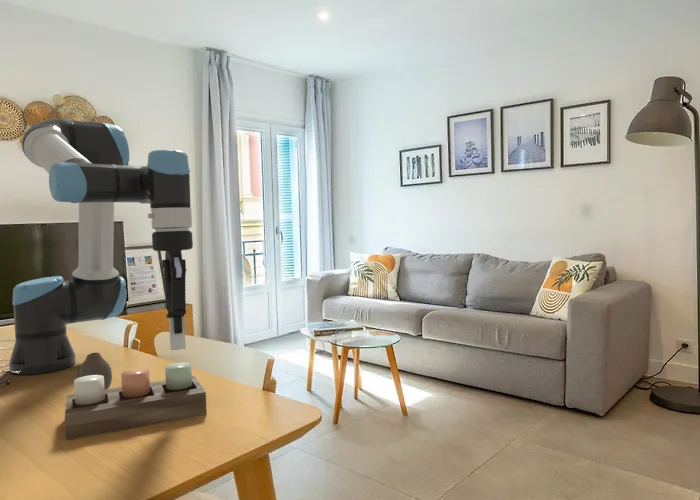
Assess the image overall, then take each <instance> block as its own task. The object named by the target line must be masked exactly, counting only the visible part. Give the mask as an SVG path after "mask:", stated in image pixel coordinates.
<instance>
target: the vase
mask: <svg viewBox="0 0 700 500" xmlns="http://www.w3.org/2000/svg"><path fill="white" fill-rule="evenodd" d="M89 375H102V376H104V389H105V390H106V389H110V386H111V384H112V380H113V372H112V368H111V365H110V364H109V363H108V361H106V360H105V359H104V358H103V357H102V355H101V353H100V352H89V353H88V354H87V355H86V358H85V359H84V361H83V362H82V364H81V365H80V367H79V368H78V371H77V376H76V377H77V378H80V377H83V376H89ZM77 378H76V379H77Z"/></svg>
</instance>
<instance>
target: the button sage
mask: <svg viewBox="0 0 700 500" xmlns="http://www.w3.org/2000/svg"><path fill="white" fill-rule="evenodd" d="M192 368H193V367H192V363H190V362H175V363H171V364H168V365H166V366H165V367H164V371H165V373H164V374H165V380H166V388H167V389H170V390H179V389H185V388H188V387H190V386H192V376H193V372H192V371H193V370H192Z"/></svg>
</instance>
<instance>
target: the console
mask: <svg viewBox="0 0 700 500" xmlns="http://www.w3.org/2000/svg"><path fill="white" fill-rule="evenodd" d="M65 400H66V402H65V410H64V426H65V441H70V440H71V441H72V440H76V439H81V438H82V439H83V438H87V437H91V436H97V435H102V434H107V433H113V432H117V431H125V430H129V429H134V428H140V427H145V426H149V425H156V424H161V423H167V422H171V421H177V420H183V419H189V418H192V417H193V418H194V417H198V416H204V415H207V413H208V412H207V411H208V409H207V392H206V390H205V388H204V387H203V386H202V384H201V383H200V382H199V381H198V379H197V377H196V376H195V375H192V386H190V387H188V388H185V389H179V390H170V389H167V388H166V379H163V380H159V381H158V380H157V381H152V382H150V392H149V393H147V394H145V395H142V396H137V397H125V396H123V395H122V386H120V387H114V388H108V389H106V390H105V399H104V400H102V401H100V402H97V403H93V404H87V405H79V404H76V403H75V393H74V394H67V395H66V399H65Z"/></svg>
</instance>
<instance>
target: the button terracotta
mask: <svg viewBox="0 0 700 500" xmlns="http://www.w3.org/2000/svg"><path fill="white" fill-rule="evenodd" d="M120 379H121V387H122V395H123V396H125V397H137V396H142V395H145V394H147V393H149V392H150V383H151V382H150V379H151V378H150V370H149V369H148V368H133V369H128V370H124V371H123V372H121V373H120Z"/></svg>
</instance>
